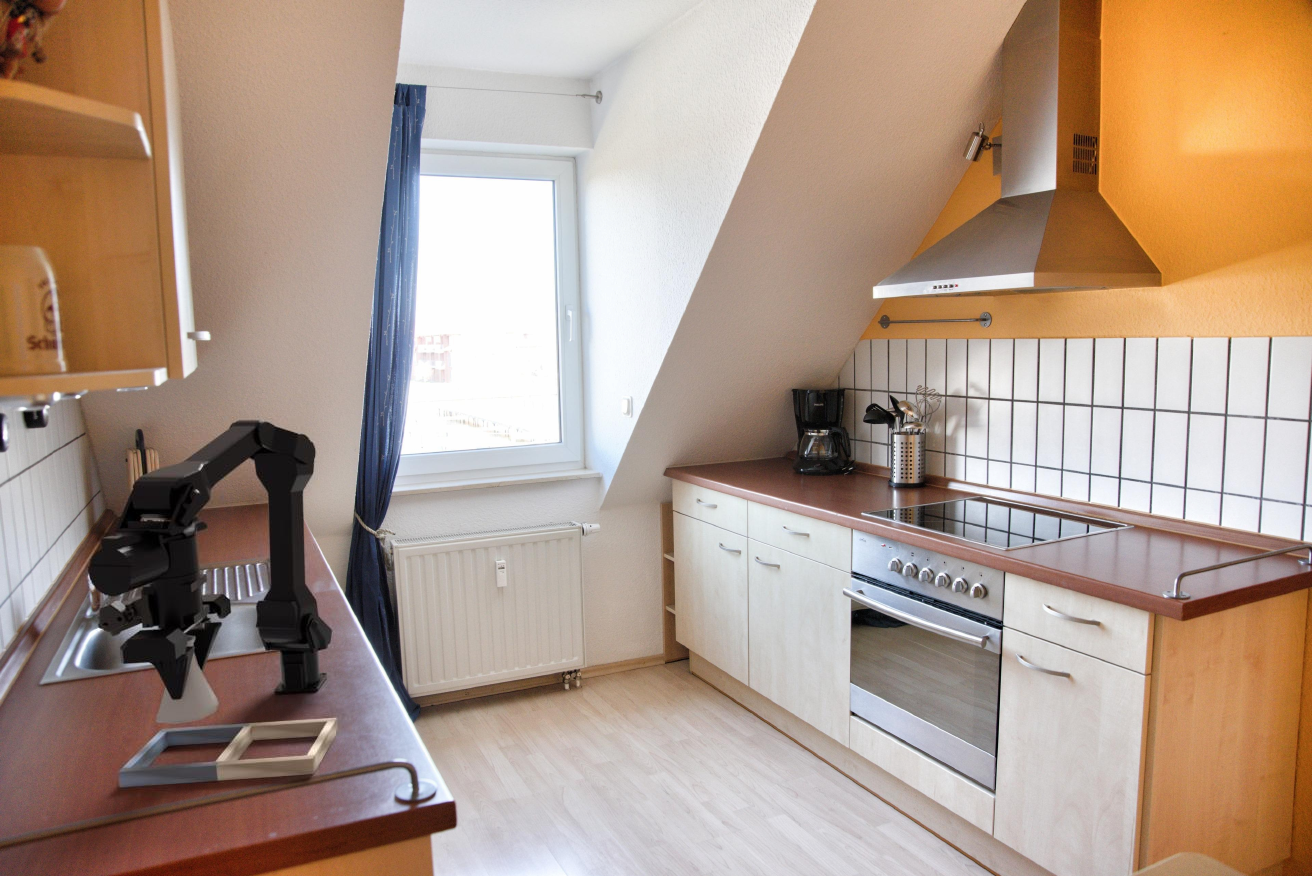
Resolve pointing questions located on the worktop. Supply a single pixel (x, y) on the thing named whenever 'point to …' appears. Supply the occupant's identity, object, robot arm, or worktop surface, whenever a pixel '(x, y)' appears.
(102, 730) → the worktop surface
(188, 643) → the flask
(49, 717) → the worktop surface
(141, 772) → the caddy
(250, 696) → the worktop surface
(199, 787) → the worktop surface
